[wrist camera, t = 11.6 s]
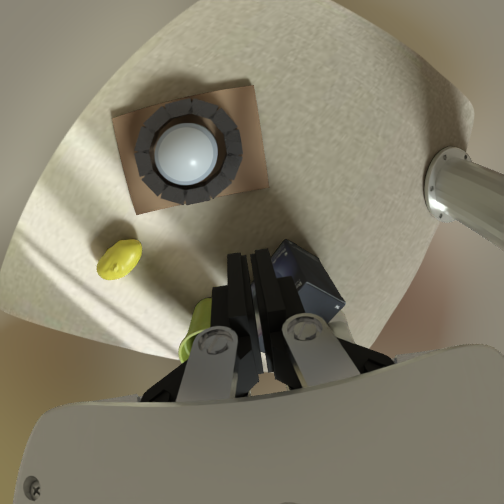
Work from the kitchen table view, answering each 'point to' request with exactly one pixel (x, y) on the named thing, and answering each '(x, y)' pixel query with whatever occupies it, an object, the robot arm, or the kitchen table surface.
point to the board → (237, 108)
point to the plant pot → (196, 327)
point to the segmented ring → (197, 190)
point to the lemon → (119, 259)
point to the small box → (304, 283)
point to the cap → (186, 153)
